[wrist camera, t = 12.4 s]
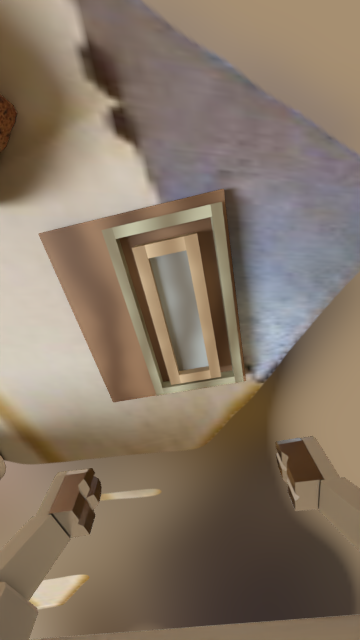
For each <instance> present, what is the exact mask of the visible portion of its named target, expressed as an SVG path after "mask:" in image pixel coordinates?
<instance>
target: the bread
mask: <svg viewBox="0 0 360 640" xmlns="http://www.w3.org/2000/svg"><path fill="white" fill-rule="evenodd" d="M16 115H17V112H16V110H15V108H14V106H13V105H12V104H11V103H10V102H9V101H8V100H6V99H5V98H4V97H3V96H2V95H0V152H1V151H2V150H3V149H4V148H5V147H6V146H7V143H8V140H9V136H10V132H11V129H12V128H13V126H14V124H15V117H16Z"/></svg>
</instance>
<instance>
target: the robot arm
mask: <svg viewBox="0 0 360 640" xmlns="http://www.w3.org/2000/svg"><path fill="white" fill-rule="evenodd" d="M276 449H277V452H278V453H277V454H276V458H277V463H278V467H279V470H280V473H281V476H282V478H283V480H284V481H285V482H286V483H287V488H288V494H289V496H290V499H291V501H292V504H293V506H294V509H295V511H303V510H315V509H319V511H320V512H321V513H322V514H323V515H324V517H326V519H327V520H328V521H329V522H330V523H331V524H333V526H334V527H335V528H336V529H337V530H338V531H339V532H340V533H341V534H342V535H343V536H344V537H345V538H346V539H347V540H348V541H349V542H350V543H351V544H352V545H353V546H354V547H355V548H356V549H357V550H358V551H359V552H360V488H358V487H357V486H355V485H354V484H353V483H351V482H350V481H349V480H347V479H346V478H340V477H339V475H338V474H337V472H336V470H335V469H334V467H333V465H332V464H331V462H330V461H329V459H328V457H327V456H326V454H325V453H324V451H323V449H322V448H321V446H320V445H319V443H318V441H317V440H316V438H314V437H313V436H310V437H304V438H295V439H289V440H283V441H277V442H276ZM5 471H6V466H5V463H4V460H3V458H2V457H1V455H0V479H1V478H2V477H3V476H4V474H5ZM94 474H95V472H94V471H93V469H92V468H89V469H81V470H74V471H65V472H59V473H58V474H57V475H56V476H55V477H54V479H53V481H52V483H51V485H50V487H49V489H48V491H47V493H46V496H45V498H44V500H43V502H42V504H41V506H40V508H39V510H38V512H37V514H36V516H33V517H31V518H30V519H29V520H28V522H27V523H26V524H25V525H24V526H23V527H22V528H21V529H20V530H19V531H18V532H17V533H16V534H15V535H14V536H13V537H12V538H11V539H10V541H8V542H7V544H6V545H5V546H4V547H3V548H2V549H1V550H0V640H360V615H347V616H334V617H321V618H307V619H293V620H280V621H267V622H255V623H254V622H253V623H240V624H227V625H214V626H202V627H187V628H174V629H161V630H147V631H135V632H121V633H107V634H94V635H80V636H68V637H54V638H41V639H29V638H30V635H31V632H32V629H33V626H34V623H35V621H36V618H37V615H38V610H37V608H36V607H35V606H34V605H33V604H31V603H30V602H29V600H30V598H31V597H32V595H33V594H34V592H35V591H36V589H37V588H38V587H39V585H40V584H41V582H42V581H43V579H44V577H45V576H46V575H47V573H48V572H49V570H50V569H51V567H52V566H53V564H54V563H55V561H56V560H57V558H58V557H59V556H60V554H61V553H62V551H63V550H64V548H65V547H66V545H67V544H68V542H69V541H70V538H72V537H79V536H86V535H89V534H90V532H91V529H92V525H93V522H94V519H95V512H94V509H95V507H96V506H97V505H98V503H99V501H100V497H101V482H100V481H99V479H98V478H96V477H95V476H94Z"/></svg>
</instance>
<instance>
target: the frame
mask: <svg viewBox="0 0 360 640" xmlns="http://www.w3.org/2000/svg"><path fill="white" fill-rule="evenodd" d="M132 251H133V254H134V258H135V261H136V265H137V268H138V271H139V275H140V278H141V282H142V285H143V289H144V292H145V296H146V299H147V303H148V306H149V310H150V313H151V317H152V320H153V323H154V327H155V330H156V334H157V337H158V341H159V344H160V348H161V351H162V355H163V358H164V362H165V365H166V368H167V372H168V375H169V379H170V382H171V385H173V384H180V383H186V382H192V381H198V380H204V379H210V378H216V377H221V372H220V366H219V360H218V354H217V348H216V342H215V336H214V330H213V324H212V319H211V313H210V307H209V301H208V295H207V289H206V283H205V277H204V271H203V265H202V259H201V253H200V247H199V241H198V236H197V233H196V232H194V233H189V234H185V235H180V236H176V237H171V238H167V239H163V240H158V241H154V242H149V243H145V244H140V245H136V246H134V247H133V248H132Z"/></svg>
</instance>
